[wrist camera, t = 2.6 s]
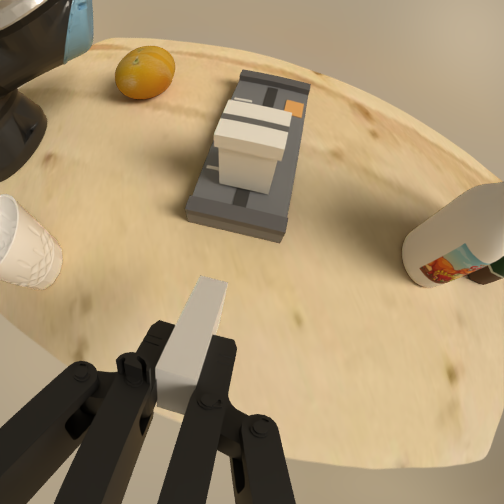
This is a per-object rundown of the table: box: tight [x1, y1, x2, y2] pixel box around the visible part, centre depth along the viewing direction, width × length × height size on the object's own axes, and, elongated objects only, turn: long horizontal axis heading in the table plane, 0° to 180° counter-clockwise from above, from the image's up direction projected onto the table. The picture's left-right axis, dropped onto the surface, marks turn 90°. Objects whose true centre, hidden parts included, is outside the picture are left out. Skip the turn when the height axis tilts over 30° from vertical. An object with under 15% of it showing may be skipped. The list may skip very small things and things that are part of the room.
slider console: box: [185, 70, 311, 243], centre depth 33 cm, size 24×10×3 cm, turn 167°
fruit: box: [115, 46, 175, 99], centre depth 33 cm, size 9×8×8 cm
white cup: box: [0, 194, 63, 290], centre depth 22 cm, size 8×8×10 cm
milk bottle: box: [402, 182, 504, 288], centre depth 22 cm, size 8×8×20 cm
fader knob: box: [214, 100, 292, 194], centre depth 26 cm, size 5×6×8 cm
